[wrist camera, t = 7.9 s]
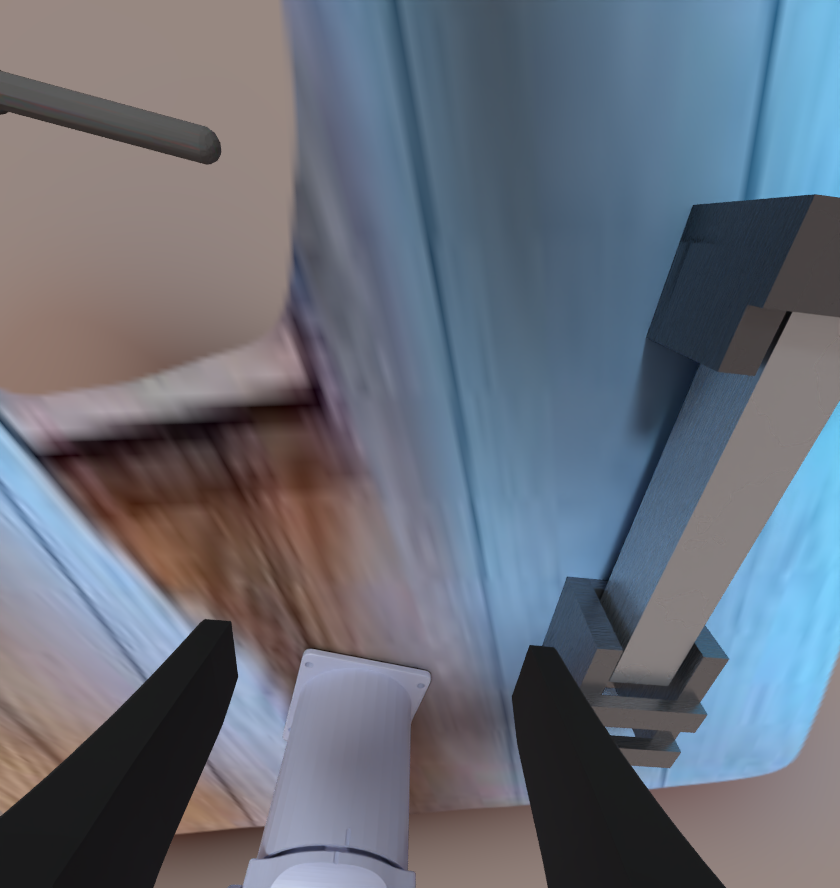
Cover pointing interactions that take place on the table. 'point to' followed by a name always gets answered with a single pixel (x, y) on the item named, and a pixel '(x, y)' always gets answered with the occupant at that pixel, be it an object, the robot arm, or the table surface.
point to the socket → (748, 278)
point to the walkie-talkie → (107, 119)
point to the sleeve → (637, 705)
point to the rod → (717, 493)
